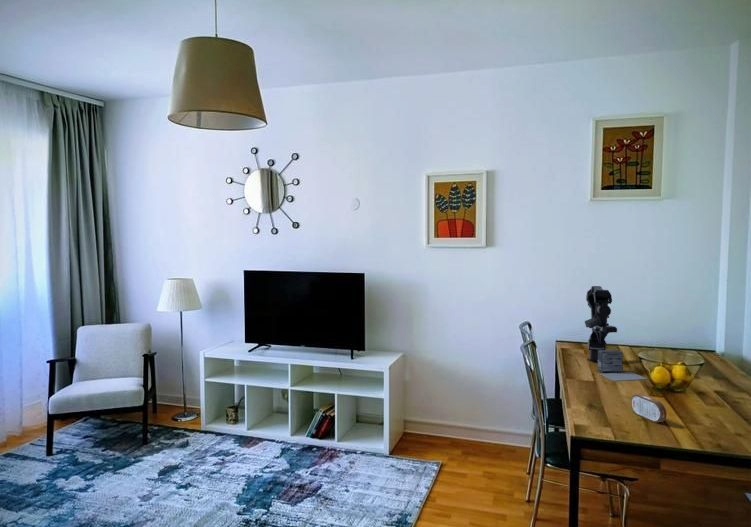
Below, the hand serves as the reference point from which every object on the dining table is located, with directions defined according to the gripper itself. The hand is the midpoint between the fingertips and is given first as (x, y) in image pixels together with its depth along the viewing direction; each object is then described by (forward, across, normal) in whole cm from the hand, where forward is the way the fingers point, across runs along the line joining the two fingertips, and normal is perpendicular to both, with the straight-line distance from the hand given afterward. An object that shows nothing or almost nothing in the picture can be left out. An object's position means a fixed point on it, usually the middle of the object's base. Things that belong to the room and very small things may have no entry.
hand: (600, 342), depth 268 cm
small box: (+13, +8, 0) cm, 16 cm away
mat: (+13, +18, 0) cm, 23 cm away
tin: (+13, +70, -28) cm, 77 cm away
